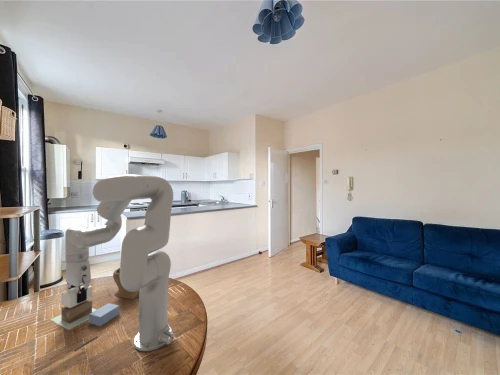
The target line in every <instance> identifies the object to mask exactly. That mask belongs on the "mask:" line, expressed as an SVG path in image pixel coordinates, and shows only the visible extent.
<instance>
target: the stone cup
mask: <svg viewBox="0 0 500 375" xmlns="http://www.w3.org/2000/svg"><path fill="white" fill-rule="evenodd" d="M112 276H113V281H114V282H115V285H116V286H117V288H118V290H117V291H115V293H114V296H116V297H117V298H123V299H128V300H129V299H131V300H134V299H136V298H137V299H139V293H140V290H137V291H134V292H130V291H127V290H125V289H124V288H123V287H122V285H121V282H120V267H119V268H117V269H115V270H114V271H113V273H112Z"/></svg>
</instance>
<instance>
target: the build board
mask: <svg viewBox="0 0 500 375" xmlns="http://www.w3.org/2000/svg"><path fill="white" fill-rule="evenodd" d="M96 310H97V309H96V308H94V307H92V312H94V311H96ZM50 321H52V322H53V323H54V324H55V323H56V324H57V325H59V326H60V327H62V328H63V329H66V330H67V331H70V330H72V329H74V328H75V327H77V326H79V325H82V324H83V323H85V322H87V321H89V314H88V315H86V316H84V317H82V318H80V319H78V320H76V321H74V322H72V323H70V324H69V323H67V322H65V321H63V320H62V319H61V314H59V315H57V316H55V317H53V318H50Z"/></svg>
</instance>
